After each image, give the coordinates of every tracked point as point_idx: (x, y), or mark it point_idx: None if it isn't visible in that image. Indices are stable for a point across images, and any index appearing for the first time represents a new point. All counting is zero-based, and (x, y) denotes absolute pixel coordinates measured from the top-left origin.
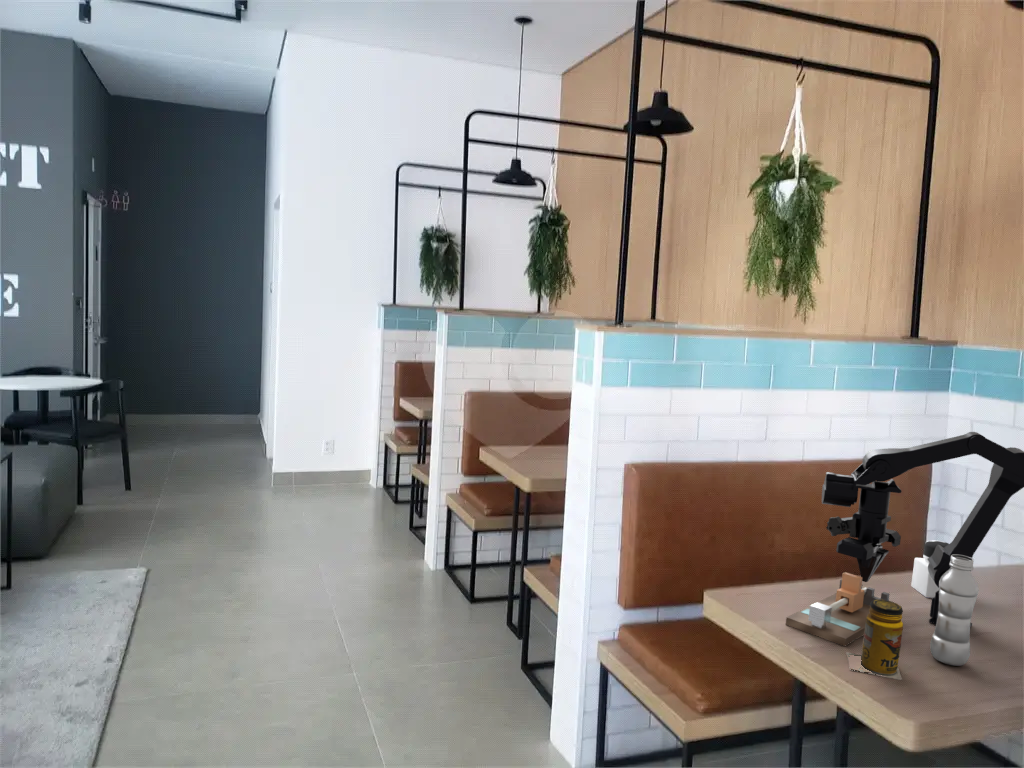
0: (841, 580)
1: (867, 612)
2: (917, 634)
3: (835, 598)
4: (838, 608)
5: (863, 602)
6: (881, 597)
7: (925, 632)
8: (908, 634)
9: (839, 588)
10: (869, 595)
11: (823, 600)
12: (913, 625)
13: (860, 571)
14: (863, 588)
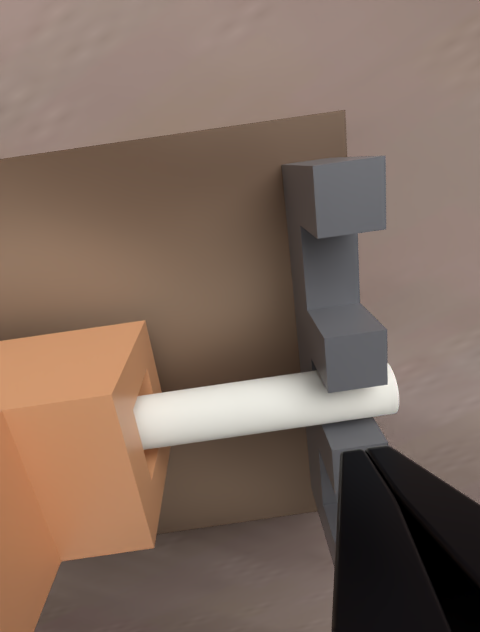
0: (319, 179)
1: (170, 459)
2: (248, 611)
3: (192, 193)
4: (21, 334)
5: (301, 367)
6: (328, 528)
7: (307, 613)
8: (206, 598)
9: (293, 167)
10: (318, 441)
11: (36, 169)
12: None
13: (339, 550)
14: (352, 400)
